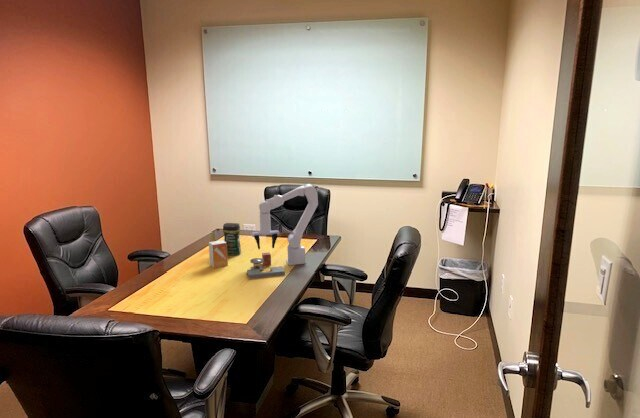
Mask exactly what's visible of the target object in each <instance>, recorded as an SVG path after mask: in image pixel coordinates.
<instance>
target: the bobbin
mask: <svg viewBox="0 0 640 418" xmlns="http://www.w3.org/2000/svg"><path fill="white" fill-rule="evenodd" d="M263 262H264V259H262V257H256V258H254V257H253V258H252V259H251V258H250V263H251V264H253V265H252V266H250V269H259V270H260V272H262V271H264V270H265V266H262V264H263Z"/></svg>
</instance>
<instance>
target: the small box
mask: <svg viewBox="0 0 640 418" xmlns="http://www.w3.org/2000/svg"><path fill="white" fill-rule="evenodd" d="M208 257H209V266H210V267H212V268H213V269H216V268H221V267H228V266H229V260H228V257H229V256H228V255H227V242H225V241H224V240H223V239H222V240H216V241H215V240H214V241H209V242H208Z"/></svg>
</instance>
